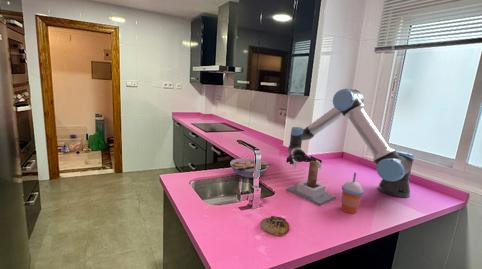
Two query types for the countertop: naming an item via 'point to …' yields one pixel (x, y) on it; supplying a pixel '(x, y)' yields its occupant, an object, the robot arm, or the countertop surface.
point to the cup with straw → (351, 195)
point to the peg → (312, 174)
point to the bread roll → (275, 225)
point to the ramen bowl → (247, 167)
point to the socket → (311, 193)
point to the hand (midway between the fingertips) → (307, 165)
